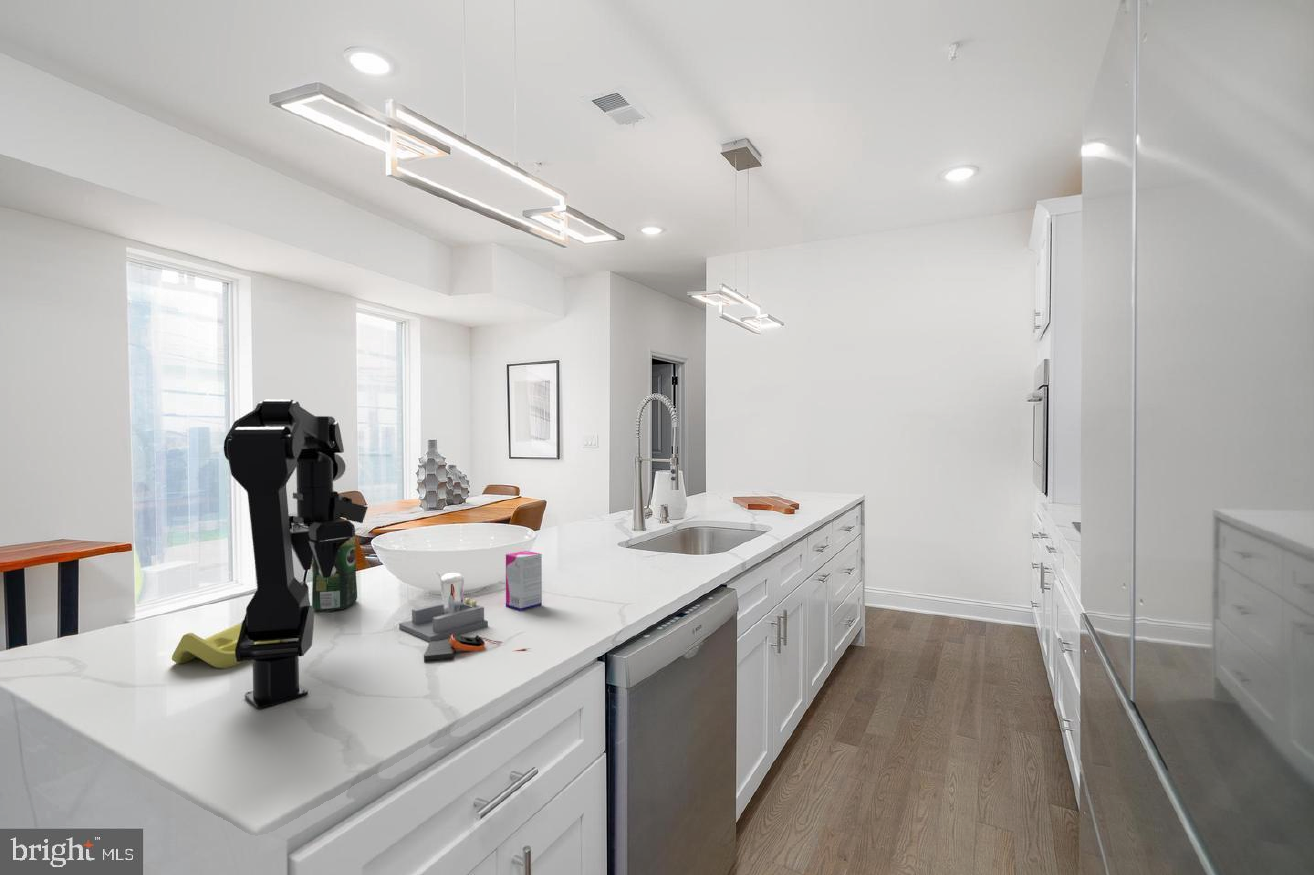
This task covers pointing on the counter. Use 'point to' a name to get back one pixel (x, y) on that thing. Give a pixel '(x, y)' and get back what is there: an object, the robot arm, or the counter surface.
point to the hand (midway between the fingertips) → (316, 573)
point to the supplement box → (523, 580)
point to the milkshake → (452, 592)
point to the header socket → (444, 621)
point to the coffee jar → (336, 581)
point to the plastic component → (212, 648)
